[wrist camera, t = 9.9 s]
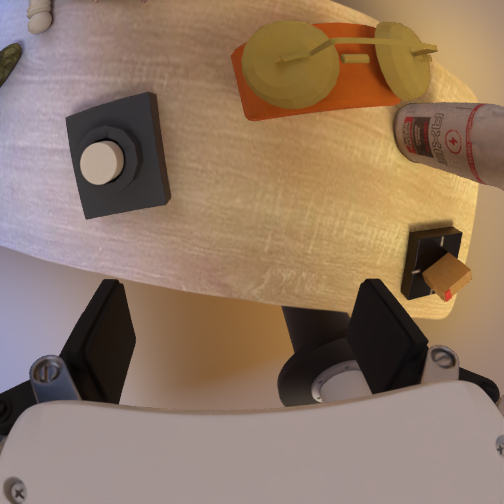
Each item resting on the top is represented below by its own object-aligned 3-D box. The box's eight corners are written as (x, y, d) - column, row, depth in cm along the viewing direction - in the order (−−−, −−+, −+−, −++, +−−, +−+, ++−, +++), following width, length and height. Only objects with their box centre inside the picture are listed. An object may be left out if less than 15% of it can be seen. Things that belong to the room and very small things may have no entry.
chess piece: (65, -28, 15) (67, 22, 20) (41, -9, 16) (43, 39, 21) (35, -30, 11) (35, 24, 16) (12, -8, 12) (12, 44, 17)
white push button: (127, 175, 25) (120, 180, 24) (93, 183, 25) (84, 188, 23) (120, 136, 24) (112, 137, 22) (86, 146, 24) (76, 148, 22)
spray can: (400, 89, 27) (532, 91, 9) (444, 115, 29) (565, 140, 11) (384, 150, 31) (514, 195, 13) (430, 171, 32) (547, 224, 14)
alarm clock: (241, 123, 29) (265, 122, 11) (229, 70, 26) (233, -8, 8) (355, 106, 28) (488, 110, 10) (345, 57, 26) (467, 13, 8)
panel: (443, 281, 40) (451, 289, 38) (398, 292, 40) (406, 301, 38) (454, 226, 36) (464, 232, 34) (407, 232, 36) (417, 239, 33)
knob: (448, 251, 35) (471, 270, 30) (450, 261, 36) (473, 280, 31) (422, 272, 36) (443, 294, 31) (424, 281, 37) (445, 303, 32)
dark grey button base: (171, 197, 31) (162, 210, 27) (95, 211, 31) (78, 226, 27) (156, 94, 26) (143, 89, 22) (77, 116, 26) (55, 118, 21)
